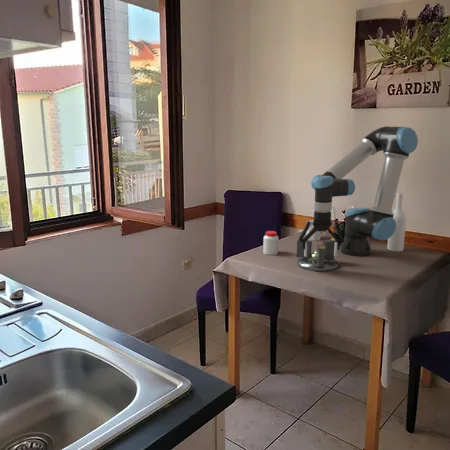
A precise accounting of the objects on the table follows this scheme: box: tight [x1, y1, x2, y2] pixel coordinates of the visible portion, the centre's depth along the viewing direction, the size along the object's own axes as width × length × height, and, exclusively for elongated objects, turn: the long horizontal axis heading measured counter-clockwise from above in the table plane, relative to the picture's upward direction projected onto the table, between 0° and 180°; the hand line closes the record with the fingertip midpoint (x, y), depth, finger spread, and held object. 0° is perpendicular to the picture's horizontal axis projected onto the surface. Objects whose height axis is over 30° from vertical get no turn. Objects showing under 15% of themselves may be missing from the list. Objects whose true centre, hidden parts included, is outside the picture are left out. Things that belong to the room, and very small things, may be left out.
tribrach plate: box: [297, 250, 339, 272], centre depth 216 cm, size 19×19×7 cm
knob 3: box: [322, 237, 337, 260], centre depth 219 cm, size 6×4×10 cm
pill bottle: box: [262, 230, 279, 256], centre depth 235 cm, size 8×8×11 cm
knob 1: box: [296, 237, 313, 260], centre depth 219 cm, size 6×4×10 cm
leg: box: [315, 244, 325, 268], centre depth 209 cm, size 6×4×10 cm
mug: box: [305, 219, 327, 241], centre depth 261 cm, size 12×9×10 cm
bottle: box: [386, 192, 407, 252], centre depth 237 cm, size 8×8×30 cm
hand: (320, 256), depth 209 cm, fingers open, 13 cm apart
